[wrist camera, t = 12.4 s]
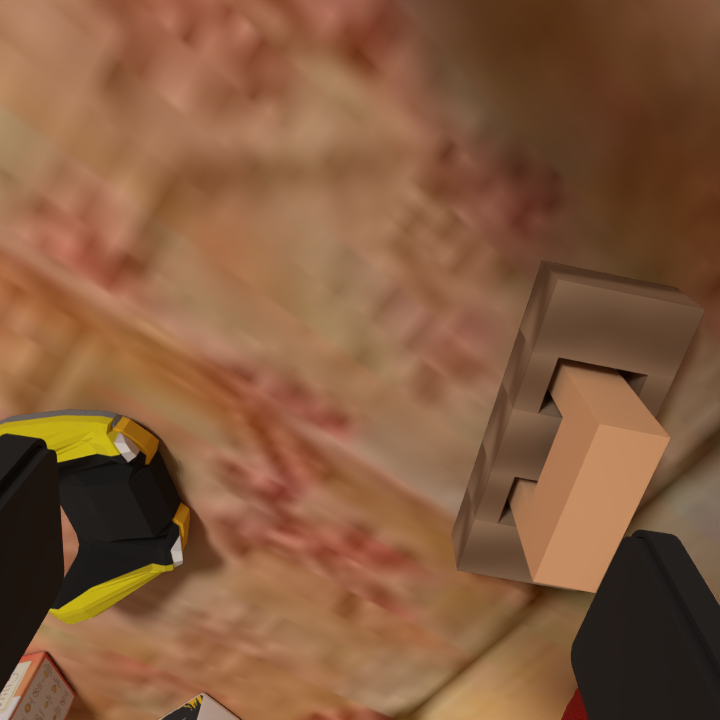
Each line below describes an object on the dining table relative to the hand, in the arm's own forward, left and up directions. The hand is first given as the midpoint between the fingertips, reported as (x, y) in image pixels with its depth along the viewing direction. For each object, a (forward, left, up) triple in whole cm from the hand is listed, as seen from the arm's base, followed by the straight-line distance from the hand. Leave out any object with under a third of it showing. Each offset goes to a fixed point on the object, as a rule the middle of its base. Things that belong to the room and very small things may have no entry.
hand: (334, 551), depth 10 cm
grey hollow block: (+10, +14, -27) cm, 32 cm away
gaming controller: (+22, -14, -27) cm, 37 cm away
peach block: (+10, +14, -27) cm, 32 cm away
